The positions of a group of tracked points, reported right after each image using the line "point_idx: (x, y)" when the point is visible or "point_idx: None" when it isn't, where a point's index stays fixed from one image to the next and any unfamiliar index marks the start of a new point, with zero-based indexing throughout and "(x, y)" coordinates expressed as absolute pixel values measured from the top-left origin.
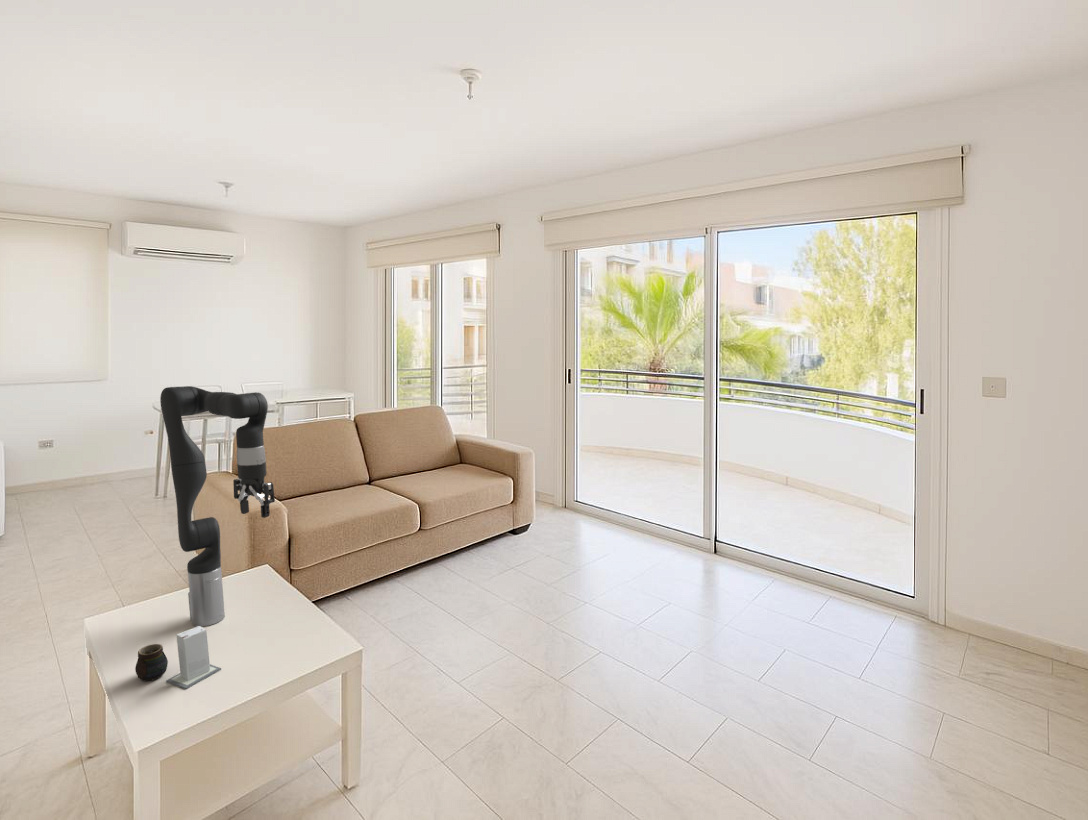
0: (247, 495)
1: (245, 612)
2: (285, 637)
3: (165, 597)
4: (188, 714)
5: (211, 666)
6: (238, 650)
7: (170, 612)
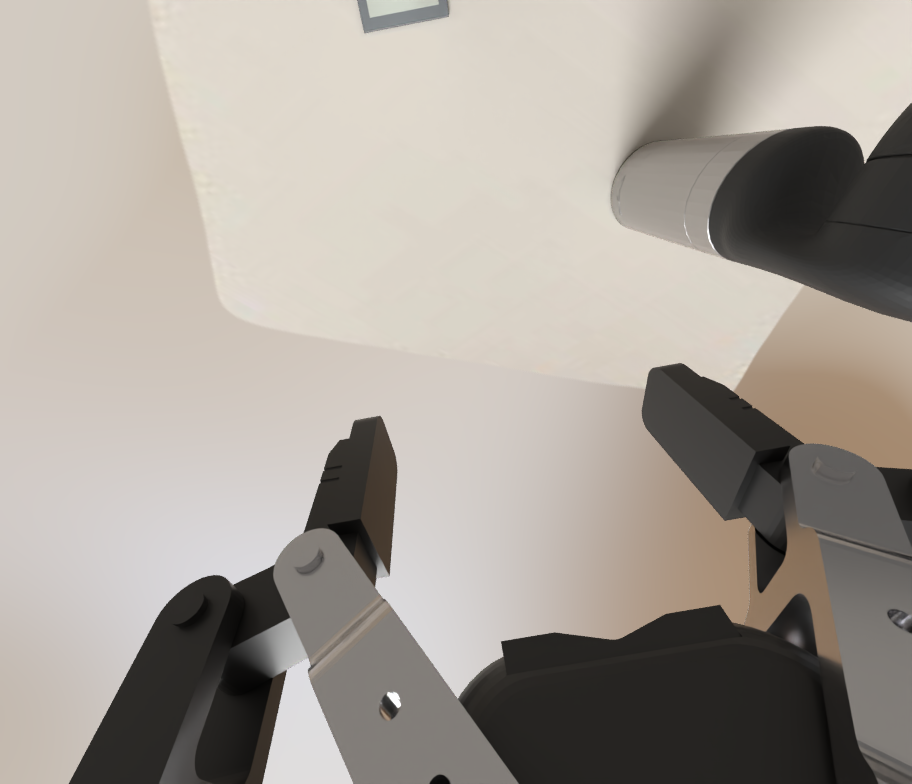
0: (765, 589)
1: (591, 268)
2: (396, 256)
3: None
4: None
5: (396, 16)
6: (429, 138)
7: None
